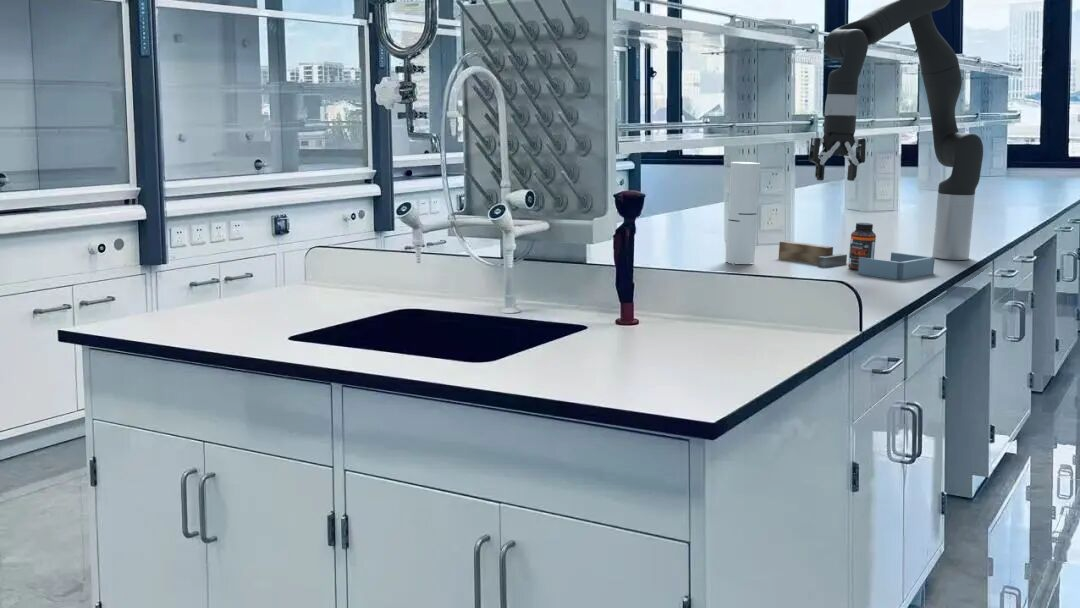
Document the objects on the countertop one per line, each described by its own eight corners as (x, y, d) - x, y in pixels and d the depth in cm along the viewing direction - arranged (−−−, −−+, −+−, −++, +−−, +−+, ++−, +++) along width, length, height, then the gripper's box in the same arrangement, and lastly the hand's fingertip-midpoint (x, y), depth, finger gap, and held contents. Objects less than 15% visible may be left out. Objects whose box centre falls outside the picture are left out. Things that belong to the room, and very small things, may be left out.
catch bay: (858, 273, 268) (859, 257, 267) (891, 268, 279) (893, 252, 278) (900, 280, 260) (901, 263, 259) (933, 273, 271) (934, 257, 270)
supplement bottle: (846, 269, 275) (850, 223, 273) (849, 266, 280) (853, 221, 278) (871, 271, 272) (875, 225, 270) (874, 268, 278) (878, 223, 276)
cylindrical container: (753, 265, 277) (760, 164, 273) (724, 264, 279) (730, 163, 274) (754, 261, 284) (760, 162, 280) (725, 260, 286) (731, 161, 281)
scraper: (770, 260, 289) (771, 242, 288) (792, 256, 296) (793, 240, 295) (824, 267, 278) (826, 249, 277) (846, 264, 285) (847, 246, 284)
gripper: (857, 114, 278) (852, 179, 281) (806, 112, 274) (801, 179, 277) (874, 114, 271) (869, 181, 274) (822, 113, 267) (817, 181, 270)
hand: (835, 180), depth 275 cm, fingers open, 8 cm apart
